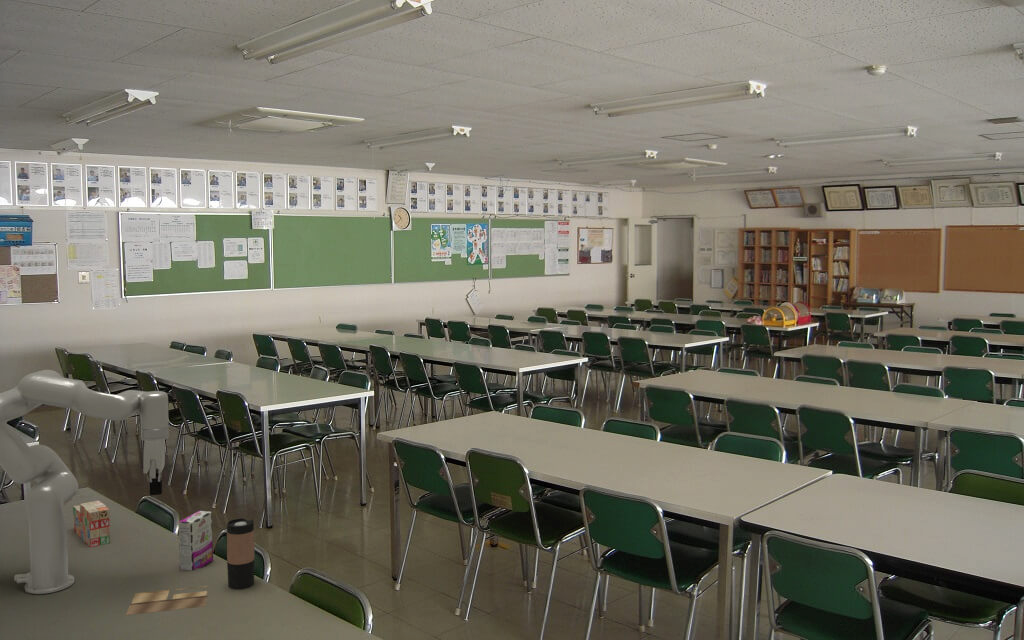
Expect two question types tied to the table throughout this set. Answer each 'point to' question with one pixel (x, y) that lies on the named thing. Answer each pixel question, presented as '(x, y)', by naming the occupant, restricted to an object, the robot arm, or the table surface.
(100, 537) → the stack of blocks
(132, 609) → the laid board
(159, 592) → the plank
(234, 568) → the travel mug
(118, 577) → the table surface
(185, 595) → the plank
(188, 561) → the candy bar box
